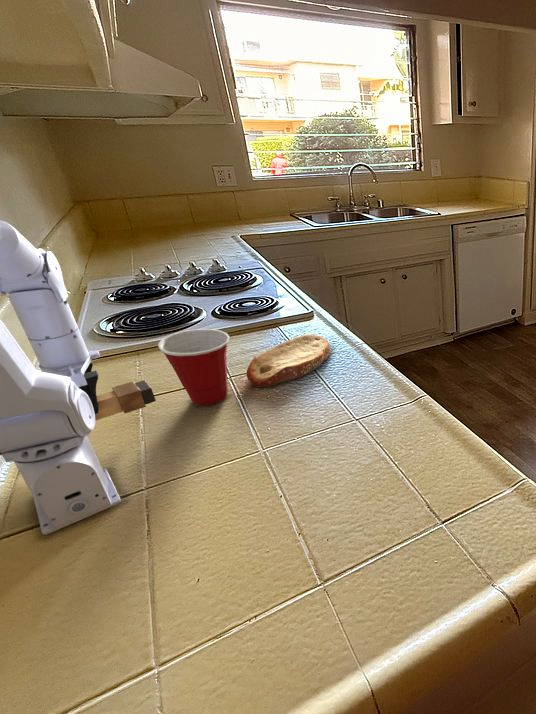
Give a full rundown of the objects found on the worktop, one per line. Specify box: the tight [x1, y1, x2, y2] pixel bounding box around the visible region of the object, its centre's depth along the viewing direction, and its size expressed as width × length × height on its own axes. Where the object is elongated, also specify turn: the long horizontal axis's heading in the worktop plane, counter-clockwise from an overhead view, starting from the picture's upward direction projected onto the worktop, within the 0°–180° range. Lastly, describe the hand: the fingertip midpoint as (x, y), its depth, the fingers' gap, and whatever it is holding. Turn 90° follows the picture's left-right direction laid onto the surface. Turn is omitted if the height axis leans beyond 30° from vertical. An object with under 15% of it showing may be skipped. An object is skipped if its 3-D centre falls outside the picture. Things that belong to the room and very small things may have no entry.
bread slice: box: [246, 333, 332, 388], centre depth 98 cm, size 18×18×4 cm
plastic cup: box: [157, 328, 231, 407], centre depth 83 cm, size 11×11×12 cm
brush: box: [95, 379, 157, 422], centre depth 75 cm, size 13×4×3 cm, turn 136°
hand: (88, 411), depth 74 cm, fingers closed on brush, 2 cm apart
